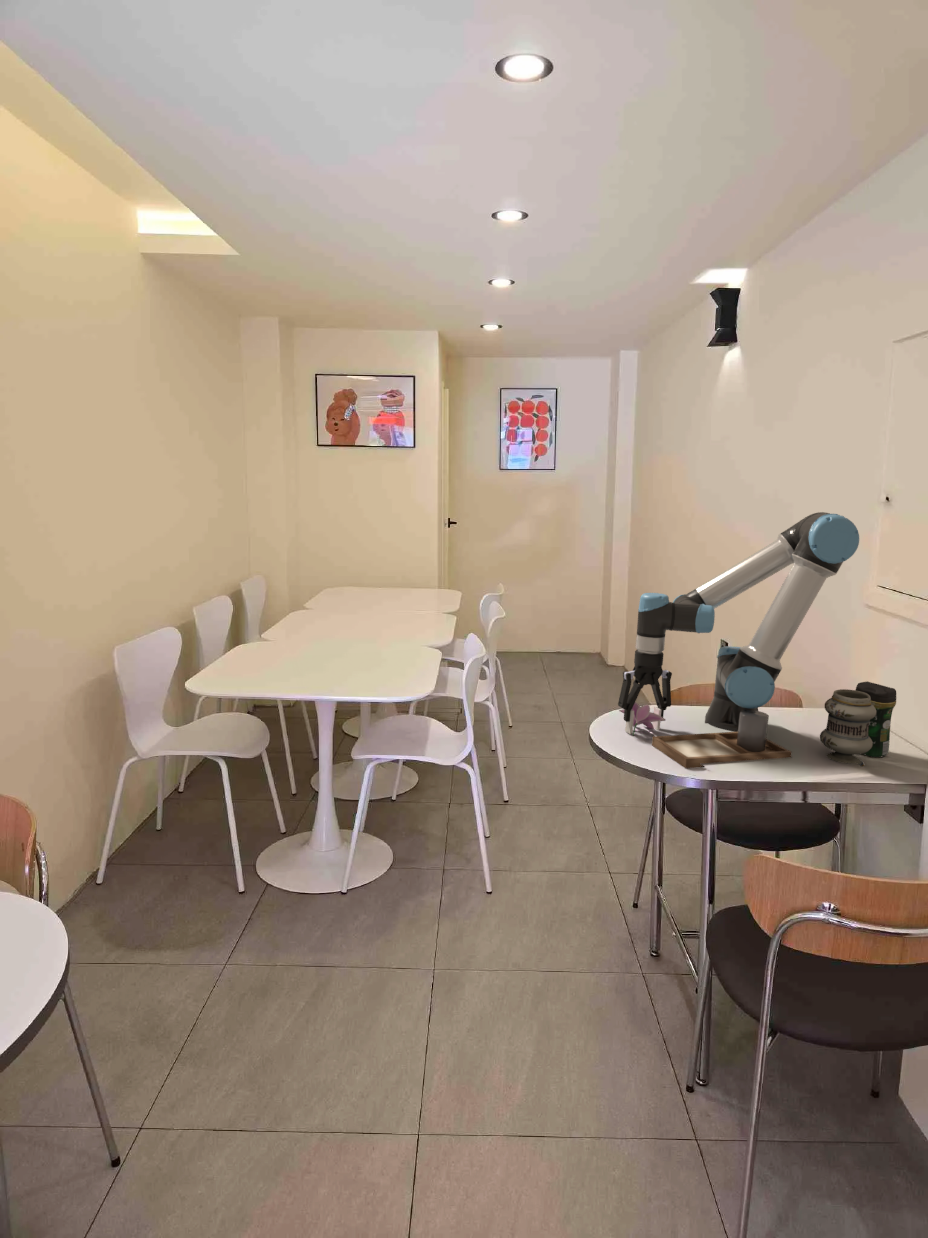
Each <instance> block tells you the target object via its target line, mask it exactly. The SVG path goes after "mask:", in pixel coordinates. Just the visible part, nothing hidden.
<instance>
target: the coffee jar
mask: <svg viewBox="0 0 928 1238" xmlns="http://www.w3.org/2000/svg"><path fill="white" fill-rule="evenodd" d="M855 690H856V691H860V692H864V693H867V694H868V695H870V697H871V704H872V705H873V706H874V707H875V709H876V715H875V717H874V718H872V719H870V722H869V730H868V736H869V737H870V738H871V740H872V748H871V749H870V750H869V751H868V752H866V753H863V754H862V755H864V754H865V756H867V757H870V756H872V758H882V757H881V756H883V757H885V756H887V755H889V752H890V735H891V723H892V722H891V721H892V716H893V711H894V709H895V707H896V705H897V690H896V689H895V688H893V687H890V686H886V685H882V684H879V683H874V682H871V681H867V680H866V681H862V682H859V683H857V685H856V687H855Z"/></svg>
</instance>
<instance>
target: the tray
mask: <svg viewBox="0 0 928 1238" xmlns="http://www.w3.org/2000/svg"><path fill="white" fill-rule="evenodd" d="M737 735H738V732H737V731H726V732H725V731H724V732H708V733H706V732H705V733H689V734H672V735H657V736H654V735H653V736H652V739H651V740H652V741H651V746H653V747H654V748H655V749H656V750H658V751H659V752H661V753H662V754H664V755H665V756H666V757H668V758H670V760H672V761H674V762H676V763H677V764H678V765H680V766H681V767H683V768H684V769H694V768H695V769H697V768H706V766H705V765H704V764H715V763H716V764H717V763H728V762H729V763H730V762H742V761H743V762H744V761H758V760H759V761H760V760H772V759H787V758H792V753H793V752H792V751H791V750H789V749H787V748H785V747H783V746H781V745H779V744H777V743H776V742H774V741H772V740H770V739H768V738H766V744H765V750H764V751H762V752H750V751H747V750H745V749H744V748H742V747H740V746H738V745H737Z"/></svg>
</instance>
